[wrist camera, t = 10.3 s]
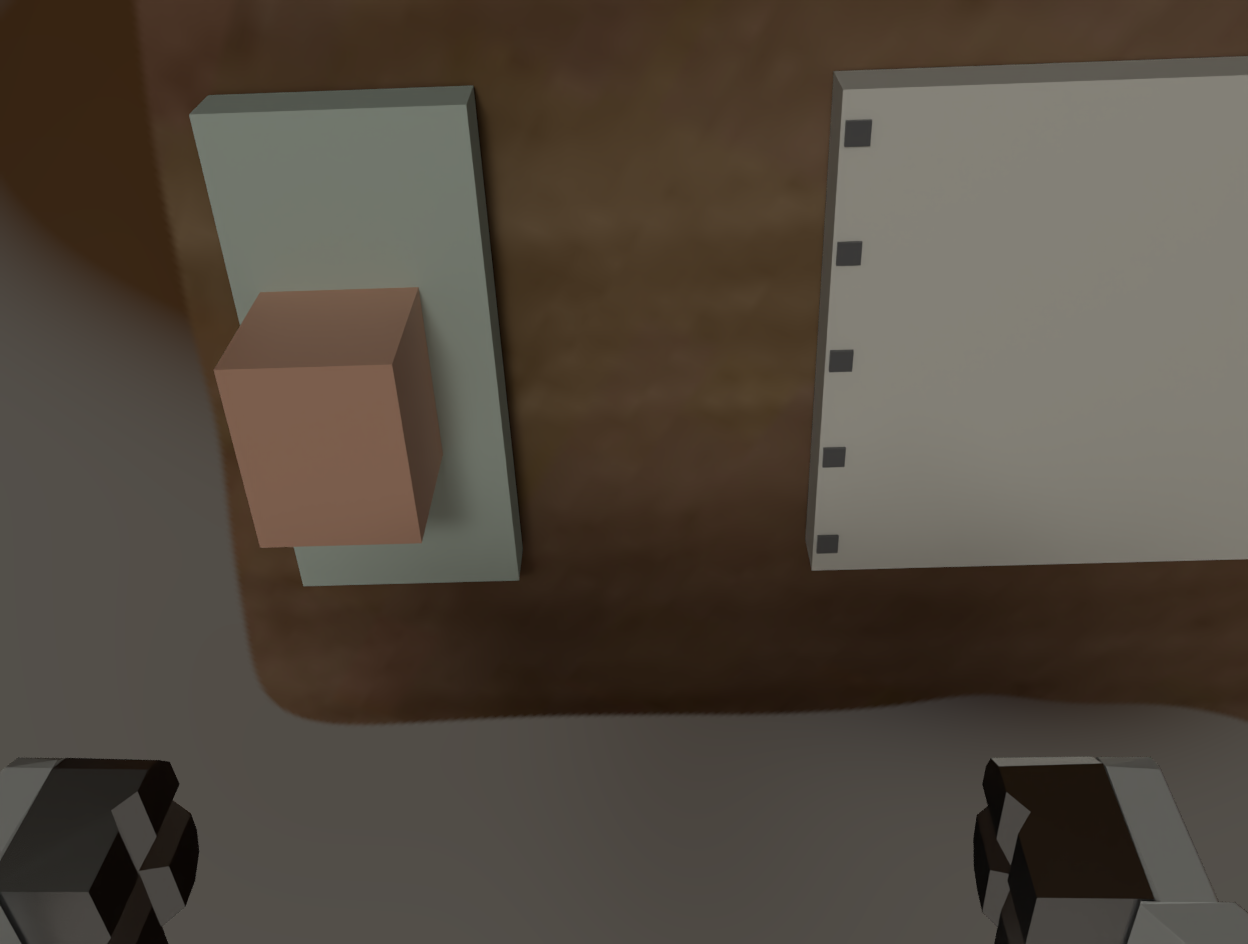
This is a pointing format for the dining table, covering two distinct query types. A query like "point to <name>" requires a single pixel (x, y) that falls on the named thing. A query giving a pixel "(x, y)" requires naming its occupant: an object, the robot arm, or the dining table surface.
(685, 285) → the dining table surface
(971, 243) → the board
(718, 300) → the dining table surface
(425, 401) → the green slab pink block
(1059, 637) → the dining table surface
